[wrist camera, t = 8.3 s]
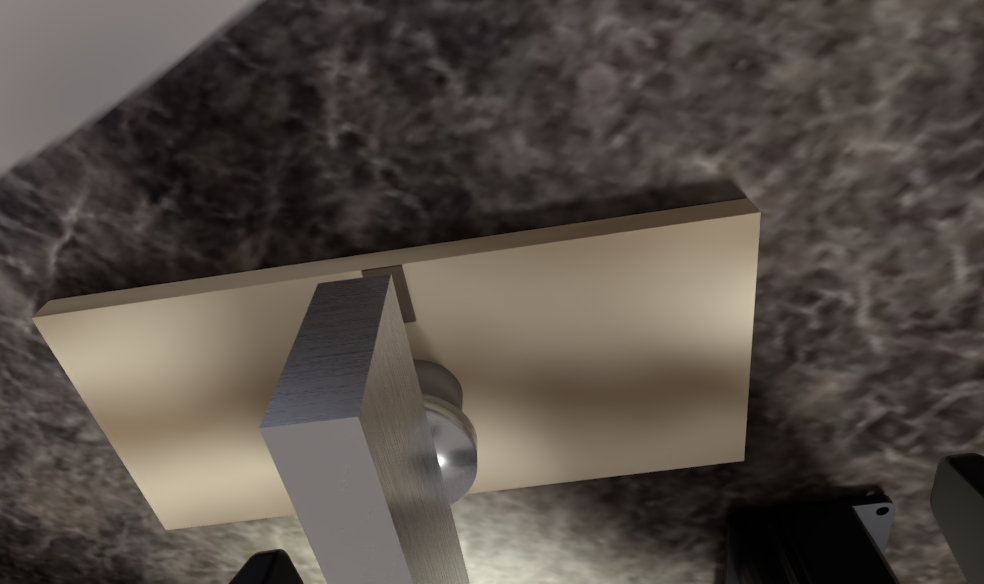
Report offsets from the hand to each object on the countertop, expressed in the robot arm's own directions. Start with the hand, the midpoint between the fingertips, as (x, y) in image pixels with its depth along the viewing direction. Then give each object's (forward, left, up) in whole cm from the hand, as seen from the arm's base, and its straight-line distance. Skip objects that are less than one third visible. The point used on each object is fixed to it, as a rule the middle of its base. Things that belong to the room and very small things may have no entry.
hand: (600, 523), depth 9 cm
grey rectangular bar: (-6, +5, -9) cm, 12 cm away
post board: (-6, +5, -12) cm, 14 cm away
